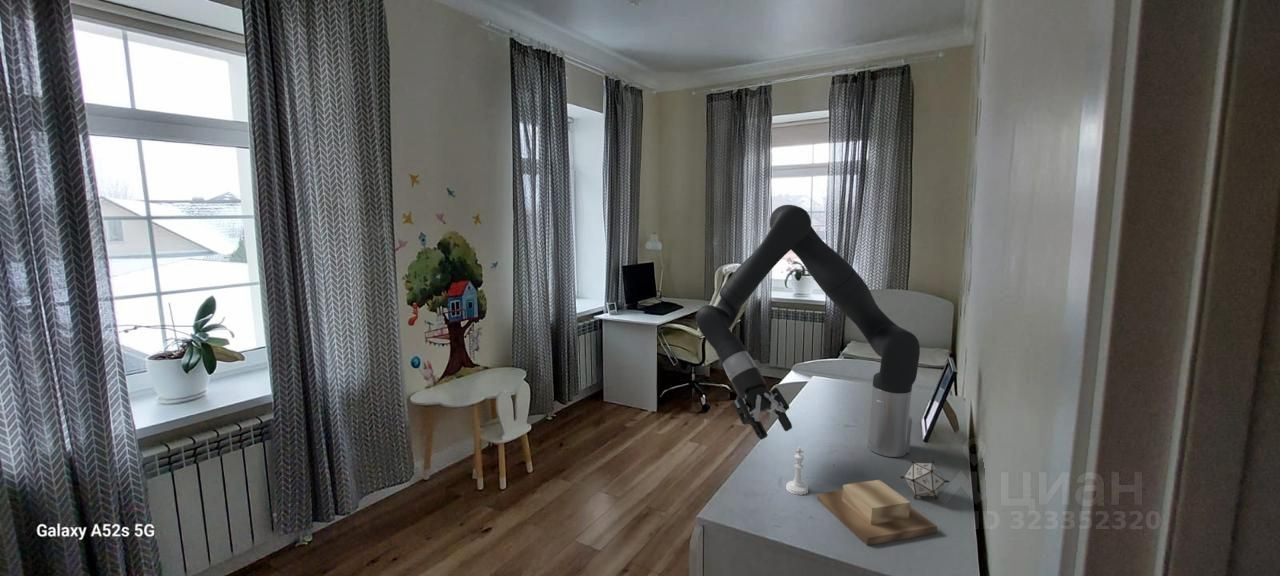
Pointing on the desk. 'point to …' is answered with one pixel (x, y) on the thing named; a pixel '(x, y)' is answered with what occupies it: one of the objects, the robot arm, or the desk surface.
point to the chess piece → (798, 477)
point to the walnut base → (876, 529)
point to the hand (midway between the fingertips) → (777, 433)
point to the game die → (924, 479)
